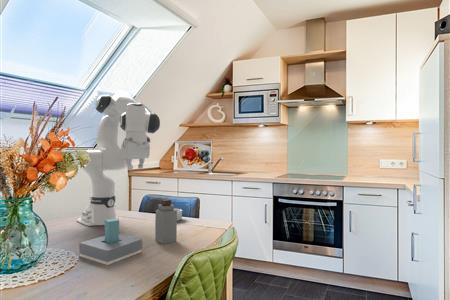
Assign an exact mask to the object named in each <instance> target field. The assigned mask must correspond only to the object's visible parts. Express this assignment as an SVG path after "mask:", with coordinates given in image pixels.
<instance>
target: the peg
mask: <svg viewBox="0 0 450 300" xmlns="http://www.w3.org/2000/svg"><path fill="white" fill-rule="evenodd" d="M119 234H120V220H119V219H118V220H117V219H115V218H114V219H107V220H105V225H104V236H105V241H104V243H108V244H112V243H116V242H119Z"/></svg>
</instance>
